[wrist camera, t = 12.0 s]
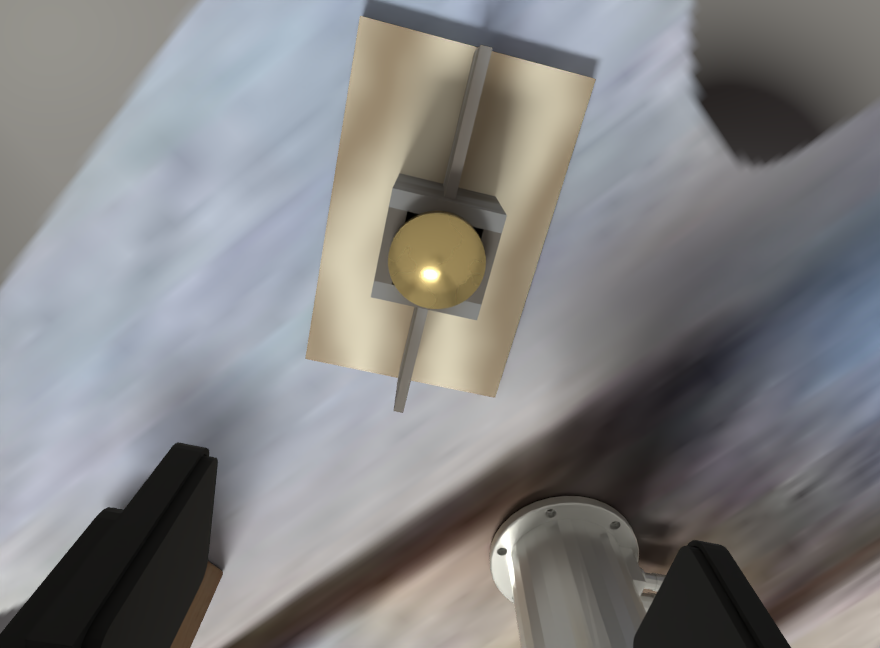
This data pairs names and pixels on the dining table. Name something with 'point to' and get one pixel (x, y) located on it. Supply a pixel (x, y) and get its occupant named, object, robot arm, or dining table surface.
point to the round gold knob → (436, 260)
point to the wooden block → (198, 608)
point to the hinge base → (440, 201)
